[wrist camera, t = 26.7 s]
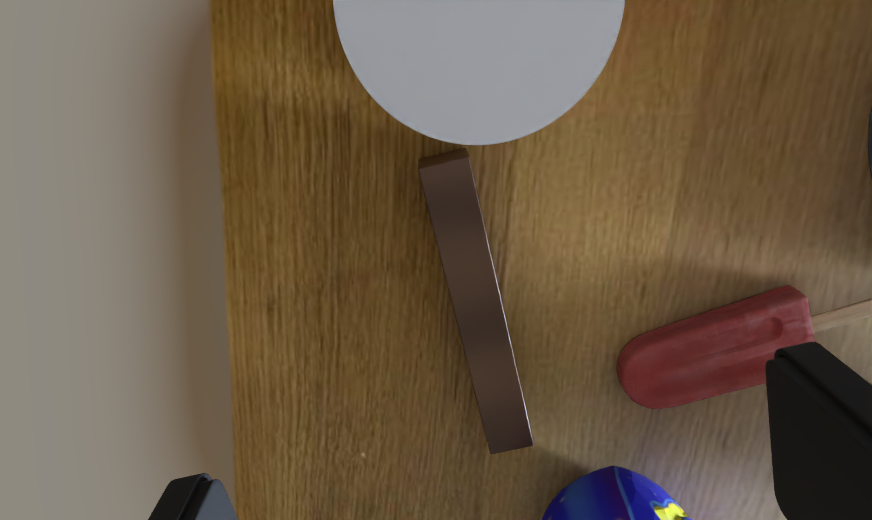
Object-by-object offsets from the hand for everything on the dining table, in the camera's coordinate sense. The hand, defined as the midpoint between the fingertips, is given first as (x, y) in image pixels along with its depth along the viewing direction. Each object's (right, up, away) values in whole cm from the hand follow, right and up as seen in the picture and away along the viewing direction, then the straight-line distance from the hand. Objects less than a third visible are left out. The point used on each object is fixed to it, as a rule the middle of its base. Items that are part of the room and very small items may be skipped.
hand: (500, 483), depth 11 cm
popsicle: (+16, 0, +24) cm, 29 cm away
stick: (+1, +2, +23) cm, 23 cm away
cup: (0, +15, +18) cm, 24 cm away
